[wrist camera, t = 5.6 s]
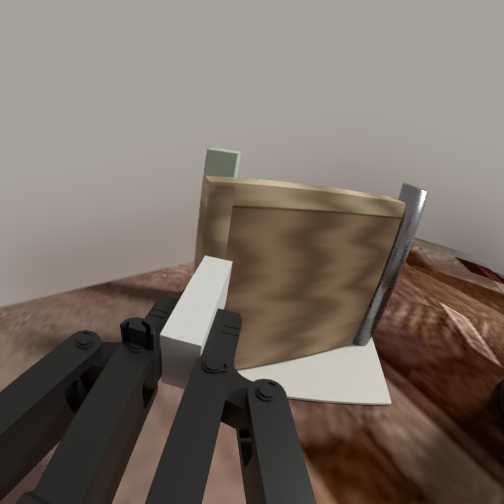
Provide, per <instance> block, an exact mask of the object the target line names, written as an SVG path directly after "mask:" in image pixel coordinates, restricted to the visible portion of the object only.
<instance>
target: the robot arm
mask: <svg viewBox="0 0 504 504" xmlns="http://www.w3.org/2000/svg"><path fill="white" fill-rule="evenodd" d="M232 262H233V261H228V260H223V259H219V258H214V257H210V256H205V257H204V258H203V260H202V262H201V263H200V265H199V267H198V268H197V270H196V272H195V274H194V275H193V277H192V279H191V280H190V282H189V284H188V286H187V287H186V289H185V291H184V293H183V294H182V296H181V298H180V300H178V299H174V298H171V297H167V296H164V297H162V298H161V299H159V300H157V301H156V302H155V304H154V305H153V307H152V309H151V310H150V311H149V313H148V315H147V316H146V317H145V319H144V318H137V317H136V318H129V319H127V320H124V321H123V322H122V323H121V324H120V328H121V336H122V342H118V343H113V342H101V339H100V337H99V336H98V335H97V334H96V333H95V332H92V331H87V330H84V331H79V332H77V333H75V334H73V335H72V336H71V337H69V338H68V339H67V340H65V341H64V342H63V343H61V344H60V345H59V346H57V347H56V348H55V349H54V350H52V351H51V352H50V353H48V354H47V355H46V356H44V357H43V358H42V359H41V360H39V361H38V362H37V363H36V364H34V365H33V366H32V367H30V368H29V369H28V370H27V371H25V372H24V373H23V374H22V375H20V376H19V377H18V378H17V379H16V380H14V381H13V382H12V383H11V384H9V385H8V386H7V387H6V388H4V389H3V390H2V391H1V392H0V501H1V500H2V499H3V498H4V497H5V496H6V495H7V494H8V493H9V492H10V491H11V490H12V489H13V488H14V487H15V486H16V485H17V484H18V483H19V482H20V481H21V480H22V479H23V478H24V477H25V476H26V475H27V474H28V473H29V472H30V471H31V470H32V469H33V468H34V467H35V466H36V465H37V464H38V463H39V462H40V461H41V460H42V459H43V458H44V457H45V456H46V455H47V454H48V453H49V452H50V451H51V450H52V448H53V447H54V446H55V445H56V444H57V443H58V442H59V441H60V440H61V441H60V443H59V445H58V447H57V448H56V450H55V452H54V454H53V456H52V458H51V459H50V461H49V463H48V465H47V467H46V469H45V471H44V473H43V475H42V477H41V479H40V481H39V483H38V485H37V486H36V488H35V489H34V490H33V491H31V492H27V493H24V494H23V495H22V496H21V497H20V498H19V499H18V501H17V503H16V504H112V502H113V499H114V497H115V494H116V491H117V489H118V486H119V484H120V481H121V479H122V476H123V474H124V471H125V469H126V466H127V464H128V461H129V459H130V456H131V454H132V451H133V449H134V446H135V444H136V442H137V439H138V437H139V434H140V432H141V429H142V427H143V425H144V422H145V420H146V418H147V415H148V413H149V411H150V408H151V406H152V403H153V401H154V399H155V397H156V394H157V391H158V381H159V379H160V377H161V380H162V383H166V384H169V385H172V386H176V387H179V388H183V389H185V391H184V394H183V396H182V399H181V402H180V405H179V407H178V410H177V413H176V416H175V419H174V421H173V424H172V427H171V430H170V433H169V436H168V438H167V441H166V444H165V447H164V450H163V453H162V456H161V458H160V461H159V464H158V467H157V470H156V473H155V476H154V479H153V482H152V484H151V487H150V490H149V493H148V496H147V499H146V502H145V504H202V500H203V496H204V491H205V487H206V483H207V478H208V474H209V470H210V465H211V461H212V457H213V452H214V448H215V444H216V439H217V435H218V430H219V426H220V422H223V423H225V424H227V425H229V426H231V427H233V428H235V429H236V432H237V440H238V448H239V456H240V463H241V470H242V477H243V484H244V491H245V498H246V504H316V501H315V497H314V494H313V490H312V486H311V483H310V479H309V475H308V472H307V468H306V464H305V461H304V457H303V454H302V450H301V446H300V443H299V439H298V435H297V432H296V428H295V424H294V421H293V417H292V413H291V410H290V406H289V402H288V399H287V395H286V392H285V390H284V388H283V387H282V386H281V385H280V384H279V383H278V382H276V381H273V380H271V379H257V380H255V381H251V380H249V379H247V378H245V377H243V376H242V375H241V374H239V373H238V372H237V370H236V368H235V366H234V358H235V354H236V349H237V345H238V340H239V335H240V331H241V326H242V318H241V316H240V313H237V312H232V311H228V310H224V307H225V303H226V298H227V292H228V286H229V280H230V274H231V268H232ZM499 401H500V406H501V410H502V413H503V415H504V380H503V382H502V383H501V386H500V390H499Z"/></svg>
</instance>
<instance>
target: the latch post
mask: <svg viewBox="0 0 504 504" xmlns="http://www.w3.org/2000/svg"><path fill="white" fill-rule="evenodd" d="M240 157H241V152H240V151H234V150H227V149H221V148H214V147H213V148H209V149H207V153H206V160H205V168H204V175H203V181H204V176H221V177H235V178H237V175H238V169H239V163H240ZM202 189H203V183H202ZM201 198H202V192H201ZM200 206H201V200H200ZM199 215H200V209H199ZM198 225H199V219H198ZM197 235H198V228H197ZM196 245H197V239H196ZM195 256H196V249H195ZM194 268H195V260H194ZM193 275H194V272H193Z"/></svg>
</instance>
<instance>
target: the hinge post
mask: <svg viewBox="0 0 504 504" xmlns="http://www.w3.org/2000/svg"><path fill="white" fill-rule="evenodd" d="M427 196H428V191H426V190H424V189H421V188H418V187H416V186H414V185H411V184H407V183H403V185H402V188H401V192H400V196H399V199H398V200H400V201H402V202H404V203H406V206H405V209H404V212H403V215H402V219H401V222H400V225H399V228H398V231H397V234H396V237H395V240H394V243H393V246H392V248H391V251H390V254H389V257H388V259H387V262H386V265H385V267H384V270H383V273H382V275H381V278H380V280H379V283H378V285H377V288H376V290H375V293H374V295H373V297H372V300H371V302H370V304H369V307H368V309H367V311H366V314H365V316H364V318H363V320H362V322H361V325H360V327H359V329H358V331H357V333H356V335H355V337H354V339H353V342H352V343H353V344H355V345H357V346H366V345H367V344H368V343H369V341H370V339H371V337H372V335H373V333H374V331H375V329H376V327H377V325H378V323H379V321H380V319H381V317H382V315H383V313H384V310H385V308H386V306H387V304H388V302H389V299H390V297H391V295H392V293H393V290H394V288H395V286H396V283H397V281H398V279H399V276H400V274H401V271H402V269H403V266H404V264H405V261H406V259H407V256H408V253H409V251H410V248H411V245H412V242H413V240H414V237H415V234H416V231H417V228H418V225H419V222H420V219H421V216H422V213H423V209H424V206H425V203H426V200H427Z"/></svg>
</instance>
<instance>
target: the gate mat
mask: <svg viewBox="0 0 504 504" xmlns="http://www.w3.org/2000/svg"><path fill="white" fill-rule="evenodd" d="M236 370H237V372H238V373H239V374H241V375H242V376H243V377H245V378H247V379H249V380H251V381H255V380H257V379H271V380H273V381H276V382H278V383H279V384H280V385H281V386H282V387H283V388H284V390H285V392H286V395H287V398H289V399H297V400H306V401H316V402H327V403H340V404H358V405H391V400H390V396H389V393H388V389H387V385H386V382H385V378H384V375H383V372H382V368H381V365H380V362H379V359H378V355H377V352H376V349H375V346H374V343H373V340H372V337H371V339H370V341H369V343H368V344H367V345H366V346H357V345H355V344H353V343H351V344H347V345H343V346H340V347H336V348H332V349H329V350H325V351H321V352H317V353H313V354H309V355H305V356H300V357H296V358H292V359H287V360H282V361H278V362H273V363H268V364H263V365H258V366H252V367H247V368H241V369H236Z"/></svg>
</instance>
